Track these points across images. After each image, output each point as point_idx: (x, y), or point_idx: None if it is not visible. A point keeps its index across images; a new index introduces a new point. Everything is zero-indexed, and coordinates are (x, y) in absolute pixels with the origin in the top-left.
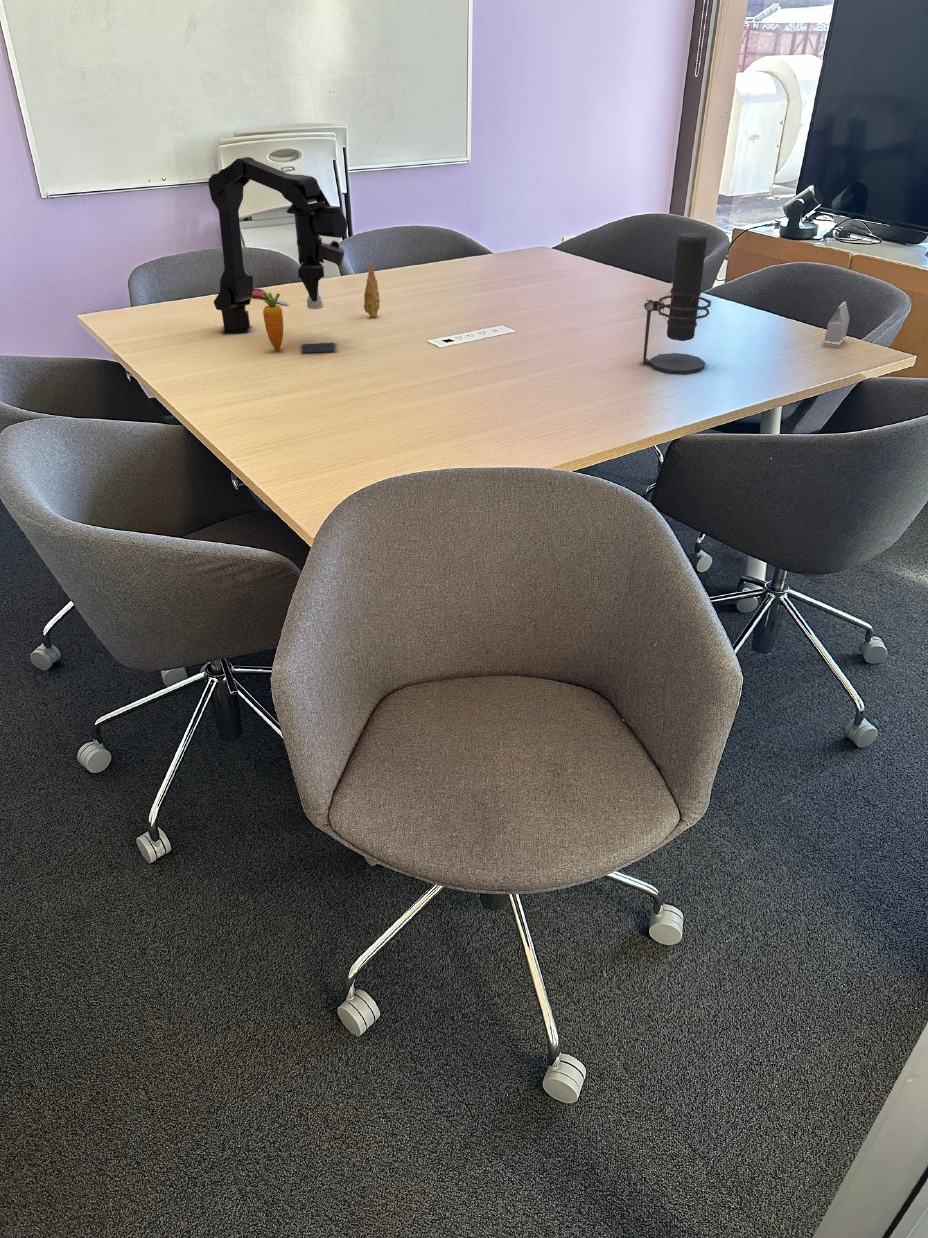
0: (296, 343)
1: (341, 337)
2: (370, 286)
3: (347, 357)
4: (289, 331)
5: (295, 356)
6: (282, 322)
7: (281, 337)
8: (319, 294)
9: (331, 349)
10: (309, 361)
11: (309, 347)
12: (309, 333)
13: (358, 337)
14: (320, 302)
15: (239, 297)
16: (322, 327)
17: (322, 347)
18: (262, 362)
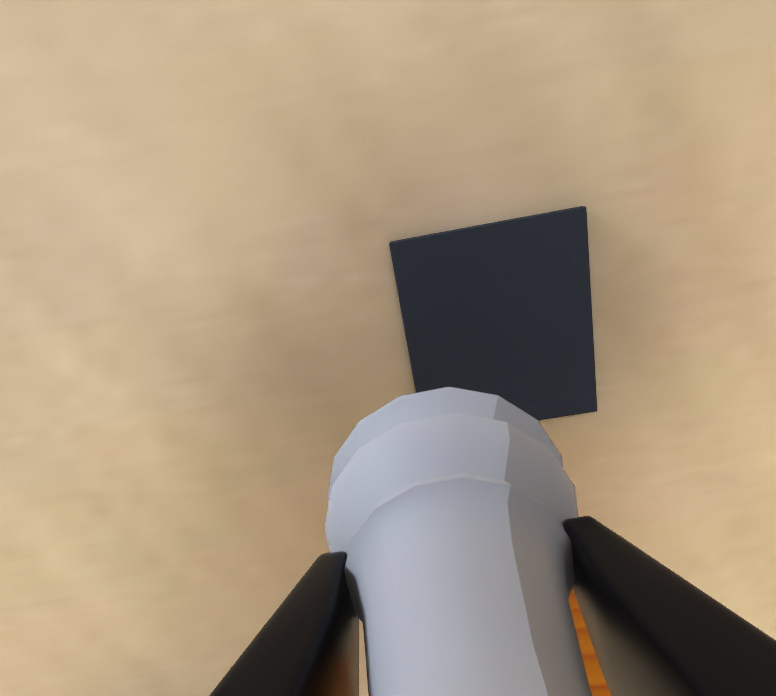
0: None
1: (225, 211)
2: None
3: (724, 75)
4: (146, 552)
5: (639, 438)
6: None
7: None
8: (478, 533)
9: (555, 230)
10: (760, 339)
11: (498, 387)
12: (166, 440)
13: (208, 68)
14: (540, 445)
15: None
16: (19, 384)
17: (503, 303)
18: (720, 580)
